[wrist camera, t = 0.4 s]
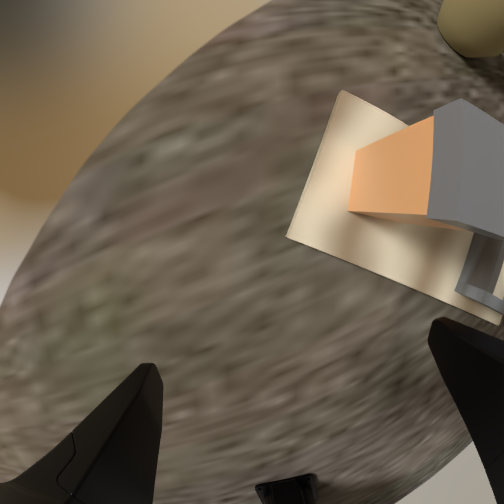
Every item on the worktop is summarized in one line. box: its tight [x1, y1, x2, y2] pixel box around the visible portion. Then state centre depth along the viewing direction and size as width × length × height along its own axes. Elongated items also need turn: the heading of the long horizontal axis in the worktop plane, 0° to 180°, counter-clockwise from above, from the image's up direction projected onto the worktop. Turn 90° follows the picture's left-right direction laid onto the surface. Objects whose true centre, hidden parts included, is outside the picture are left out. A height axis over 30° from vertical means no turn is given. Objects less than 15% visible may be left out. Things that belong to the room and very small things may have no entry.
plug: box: [348, 98, 504, 240], centre depth 14 cm, size 5×5×12 cm
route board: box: [286, 90, 504, 326], centre depth 19 cm, size 26×12×5 cm, turn 69°
